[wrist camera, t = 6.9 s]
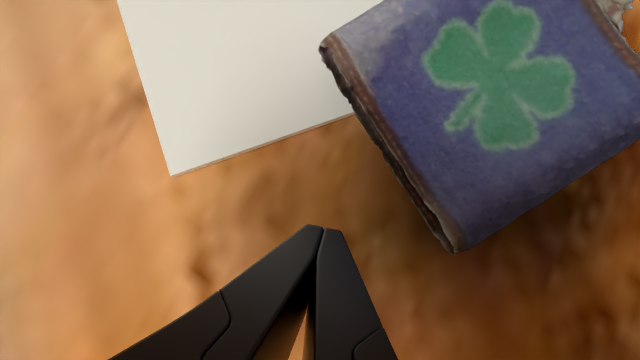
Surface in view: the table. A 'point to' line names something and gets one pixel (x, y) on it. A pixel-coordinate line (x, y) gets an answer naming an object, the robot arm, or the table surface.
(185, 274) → the table surface
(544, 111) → the flask
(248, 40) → the serving board
